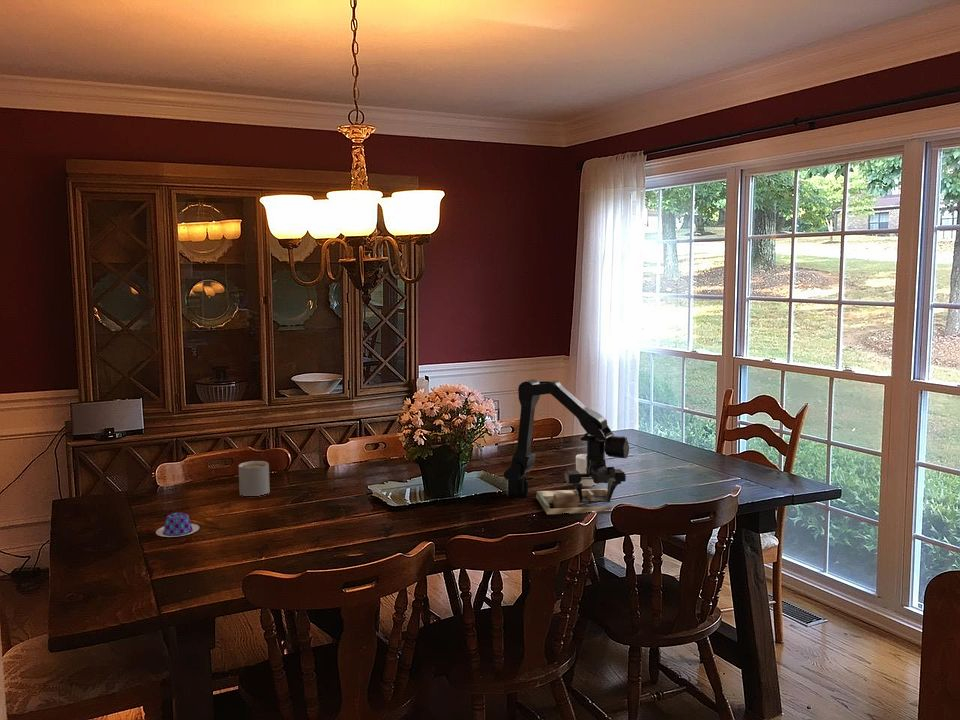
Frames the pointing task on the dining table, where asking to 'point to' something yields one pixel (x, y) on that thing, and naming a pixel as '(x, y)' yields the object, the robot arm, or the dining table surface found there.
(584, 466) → the white cup
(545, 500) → the trap lane
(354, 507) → the dining table surface
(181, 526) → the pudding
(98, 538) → the dining table surface
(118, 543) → the dining table surface
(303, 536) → the dining table surface
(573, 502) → the walnut block
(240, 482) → the coffee mug
